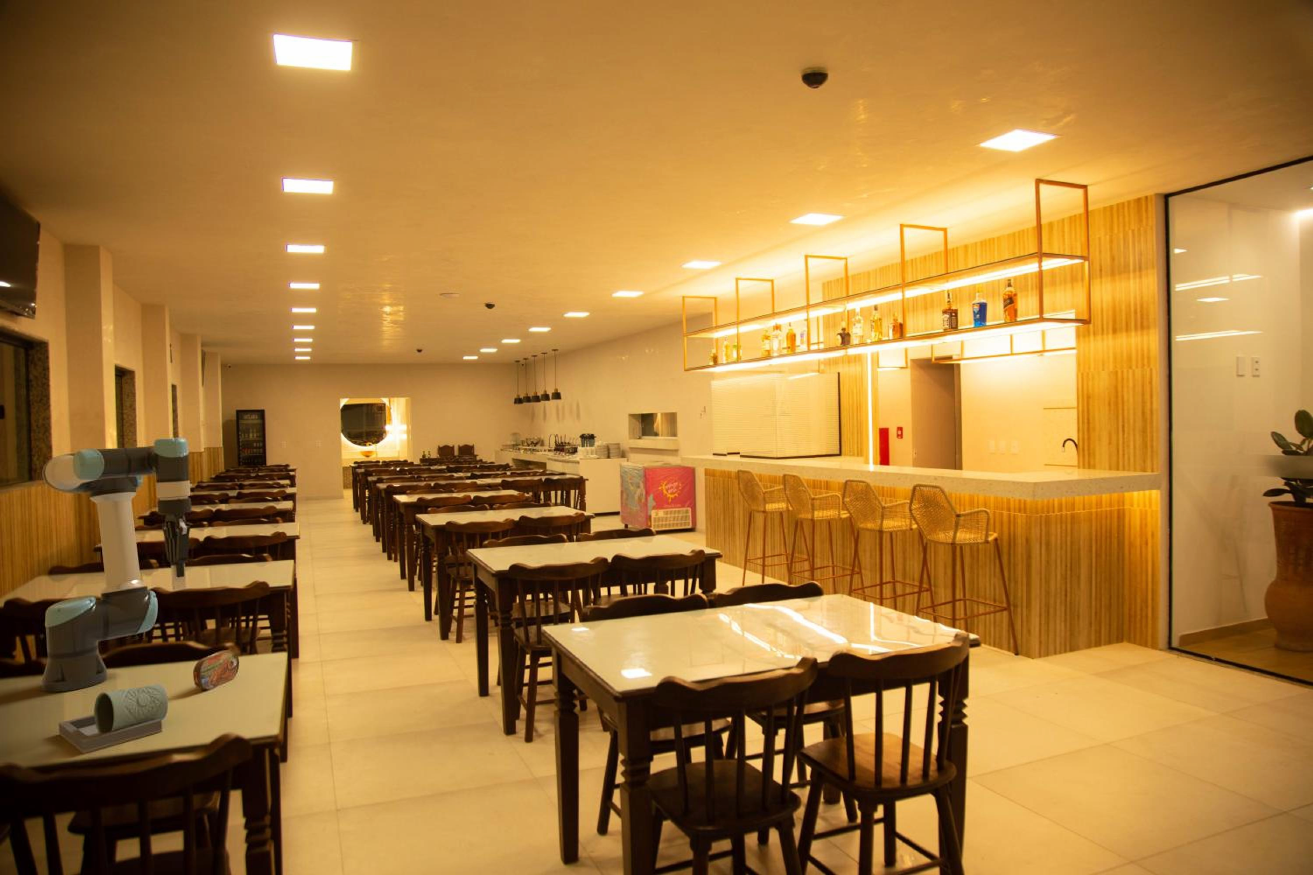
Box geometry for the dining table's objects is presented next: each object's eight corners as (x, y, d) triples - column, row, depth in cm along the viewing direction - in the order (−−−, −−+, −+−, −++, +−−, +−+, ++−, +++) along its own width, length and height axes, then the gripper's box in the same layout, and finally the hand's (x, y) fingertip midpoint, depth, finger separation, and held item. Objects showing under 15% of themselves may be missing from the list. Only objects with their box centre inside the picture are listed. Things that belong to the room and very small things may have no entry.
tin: (202, 693, 223) (200, 661, 223) (191, 693, 224) (189, 661, 224) (240, 675, 238) (239, 646, 238) (231, 675, 239) (229, 645, 239)
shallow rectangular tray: (59, 734, 197) (58, 722, 197) (134, 714, 209) (133, 704, 209) (83, 753, 184) (82, 741, 184) (162, 731, 196) (161, 720, 196)
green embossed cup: (172, 690, 199) (116, 701, 189) (166, 731, 200) (110, 744, 190) (151, 675, 204) (96, 685, 195) (145, 715, 205) (90, 727, 195)
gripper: (199, 497, 217) (204, 589, 217) (180, 495, 225) (185, 584, 226) (167, 500, 211) (172, 594, 212) (149, 498, 220) (154, 589, 220)
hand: (179, 589), depth 219 cm, fingers closed
